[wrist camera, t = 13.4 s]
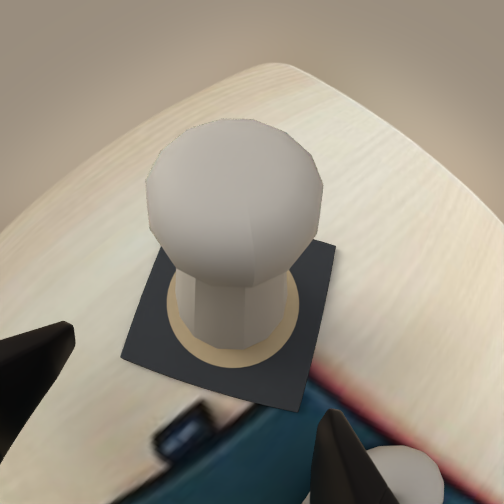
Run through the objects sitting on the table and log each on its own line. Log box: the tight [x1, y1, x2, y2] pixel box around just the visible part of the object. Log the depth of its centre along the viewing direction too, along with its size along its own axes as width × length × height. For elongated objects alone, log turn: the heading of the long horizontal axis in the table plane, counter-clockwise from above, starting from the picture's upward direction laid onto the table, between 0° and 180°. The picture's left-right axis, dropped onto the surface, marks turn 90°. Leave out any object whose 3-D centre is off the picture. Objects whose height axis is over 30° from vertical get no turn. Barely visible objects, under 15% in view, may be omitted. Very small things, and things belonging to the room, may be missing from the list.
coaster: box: [121, 239, 336, 412], centre depth 19 cm, size 11×11×1 cm
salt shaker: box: [146, 119, 323, 350], centre depth 12 cm, size 6×6×13 cm
